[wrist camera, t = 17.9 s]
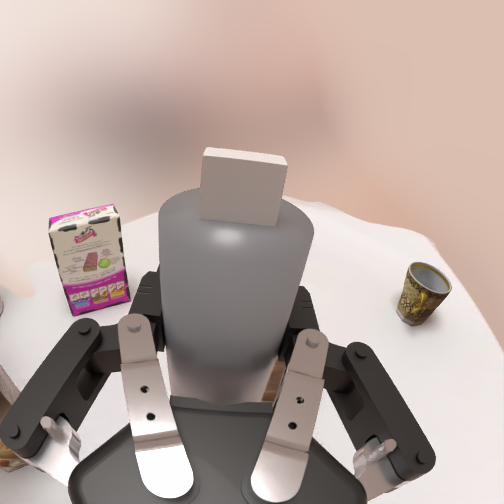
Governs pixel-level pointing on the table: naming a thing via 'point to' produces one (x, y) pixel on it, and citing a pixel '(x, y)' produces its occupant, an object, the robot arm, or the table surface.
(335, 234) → the table surface
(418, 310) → the ceramic cup
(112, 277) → the candy bar box
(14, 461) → the coffee box
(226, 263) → the grey plastic bottle
